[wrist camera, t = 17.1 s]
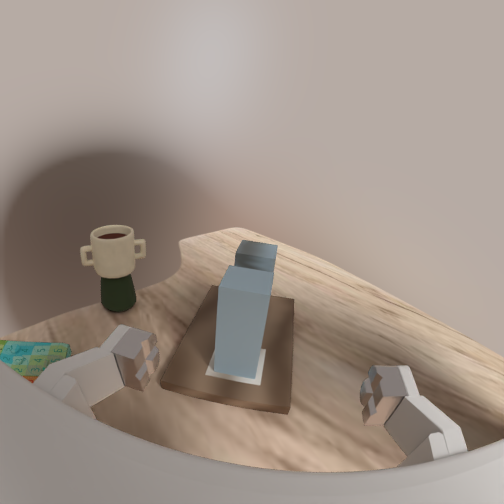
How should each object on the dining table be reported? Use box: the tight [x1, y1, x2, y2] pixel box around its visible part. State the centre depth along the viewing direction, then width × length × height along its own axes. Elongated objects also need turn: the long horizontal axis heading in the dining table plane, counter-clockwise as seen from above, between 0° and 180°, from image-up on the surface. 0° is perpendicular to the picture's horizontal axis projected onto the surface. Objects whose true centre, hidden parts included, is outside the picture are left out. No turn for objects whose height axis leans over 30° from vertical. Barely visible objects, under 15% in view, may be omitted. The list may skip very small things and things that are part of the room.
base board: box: [161, 240, 294, 414], centre depth 37 cm, size 15×24×14 cm, turn 172°
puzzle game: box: [0, 340, 71, 383], centre depth 19 cm, size 12×5×20 cm
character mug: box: [80, 225, 146, 312], centre depth 40 cm, size 11×7×13 cm, turn 124°
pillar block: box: [214, 265, 274, 379], centre depth 31 cm, size 5×5×12 cm
